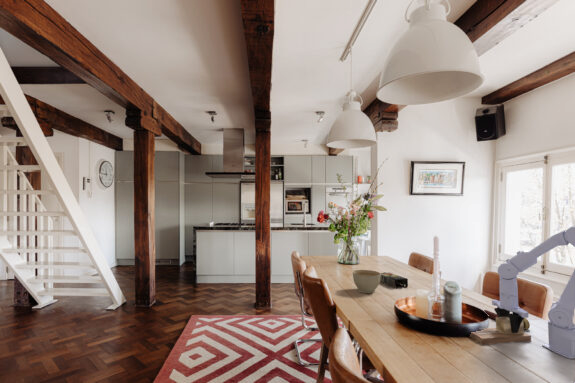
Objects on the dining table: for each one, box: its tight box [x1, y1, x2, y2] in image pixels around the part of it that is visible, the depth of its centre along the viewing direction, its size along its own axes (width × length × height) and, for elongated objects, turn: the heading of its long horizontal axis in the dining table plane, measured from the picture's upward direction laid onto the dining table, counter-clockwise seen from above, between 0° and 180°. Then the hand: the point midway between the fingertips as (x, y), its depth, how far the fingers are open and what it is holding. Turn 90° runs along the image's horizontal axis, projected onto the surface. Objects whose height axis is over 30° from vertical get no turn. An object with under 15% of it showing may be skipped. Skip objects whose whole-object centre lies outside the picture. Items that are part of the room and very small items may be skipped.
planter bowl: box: [352, 269, 382, 294], centre depth 178 cm, size 16×16×11 cm
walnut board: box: [469, 327, 532, 345], centre depth 116 cm, size 8×20×2 cm, turn 97°
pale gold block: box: [495, 317, 525, 335], centre depth 117 cm, size 4×8×5 cm, turn 97°
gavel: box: [484, 309, 531, 330], centre depth 133 cm, size 21×5×10 cm
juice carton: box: [379, 272, 409, 289], centre depth 194 cm, size 20×10×6 cm, turn 16°
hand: (509, 330), depth 117 cm, fingers closed on pale gold block, 4 cm apart
